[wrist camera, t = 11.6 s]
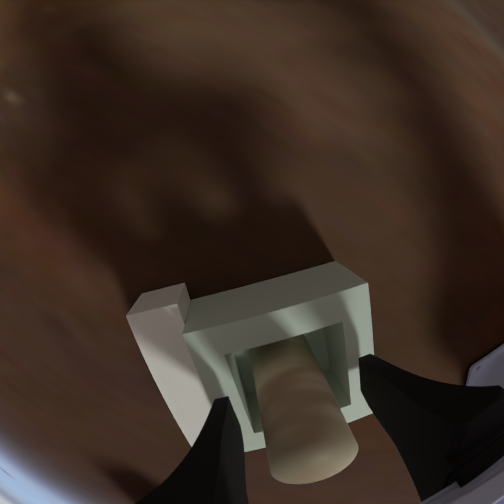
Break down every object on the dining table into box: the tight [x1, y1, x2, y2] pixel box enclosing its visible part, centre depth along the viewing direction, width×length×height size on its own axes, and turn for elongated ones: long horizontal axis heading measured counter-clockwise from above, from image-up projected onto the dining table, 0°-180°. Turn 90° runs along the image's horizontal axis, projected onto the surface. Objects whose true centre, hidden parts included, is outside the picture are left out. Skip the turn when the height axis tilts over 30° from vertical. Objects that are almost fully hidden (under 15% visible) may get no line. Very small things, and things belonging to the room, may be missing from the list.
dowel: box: [250, 334, 358, 484], centre depth 12 cm, size 3×3×8 cm
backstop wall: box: [126, 283, 212, 447], centre depth 15 cm, size 2×10×3 cm, turn 14°
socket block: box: [182, 261, 374, 452], centre depth 15 cm, size 8×8×4 cm
